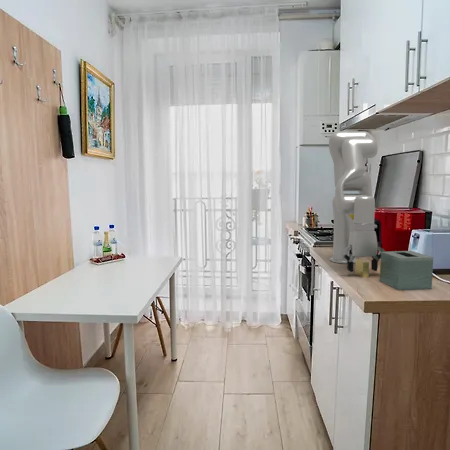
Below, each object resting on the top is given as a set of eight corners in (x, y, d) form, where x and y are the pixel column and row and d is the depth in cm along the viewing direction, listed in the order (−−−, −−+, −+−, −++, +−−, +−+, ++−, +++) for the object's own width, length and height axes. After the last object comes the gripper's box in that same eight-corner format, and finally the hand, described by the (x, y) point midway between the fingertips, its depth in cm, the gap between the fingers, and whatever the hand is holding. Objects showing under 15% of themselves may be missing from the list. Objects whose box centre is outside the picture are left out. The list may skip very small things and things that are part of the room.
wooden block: (355, 273, 141) (355, 259, 141) (361, 273, 142) (361, 259, 141) (362, 277, 135) (363, 262, 135) (368, 277, 136) (369, 262, 135)
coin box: (379, 280, 131) (380, 251, 130) (410, 279, 132) (411, 250, 131) (398, 290, 119) (399, 258, 118) (431, 288, 120) (433, 257, 119)
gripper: (379, 226, 141) (378, 268, 142) (338, 227, 139) (337, 269, 141) (390, 228, 133) (388, 272, 135) (346, 229, 132) (345, 273, 133)
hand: (362, 270), depth 138 cm, fingers open, 9 cm apart
